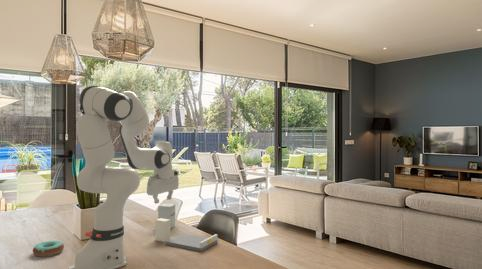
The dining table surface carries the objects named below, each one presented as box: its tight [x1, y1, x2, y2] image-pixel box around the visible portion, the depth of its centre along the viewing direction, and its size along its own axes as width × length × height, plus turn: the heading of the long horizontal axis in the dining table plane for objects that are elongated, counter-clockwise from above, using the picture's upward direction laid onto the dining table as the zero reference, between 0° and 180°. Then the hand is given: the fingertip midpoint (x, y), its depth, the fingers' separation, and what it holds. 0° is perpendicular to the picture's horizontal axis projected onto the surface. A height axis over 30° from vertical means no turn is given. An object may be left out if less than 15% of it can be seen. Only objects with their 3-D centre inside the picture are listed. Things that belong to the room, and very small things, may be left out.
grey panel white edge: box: [165, 233, 218, 252], centre depth 162 cm, size 14×20×4 cm
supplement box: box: [157, 203, 176, 230], centre depth 188 cm, size 7×7×13 cm
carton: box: [154, 218, 171, 243], centre depth 167 cm, size 6×4×10 cm
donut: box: [32, 240, 65, 258], centre depth 148 cm, size 12×12×4 cm
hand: (163, 201), depth 167 cm, fingers open, 8 cm apart
